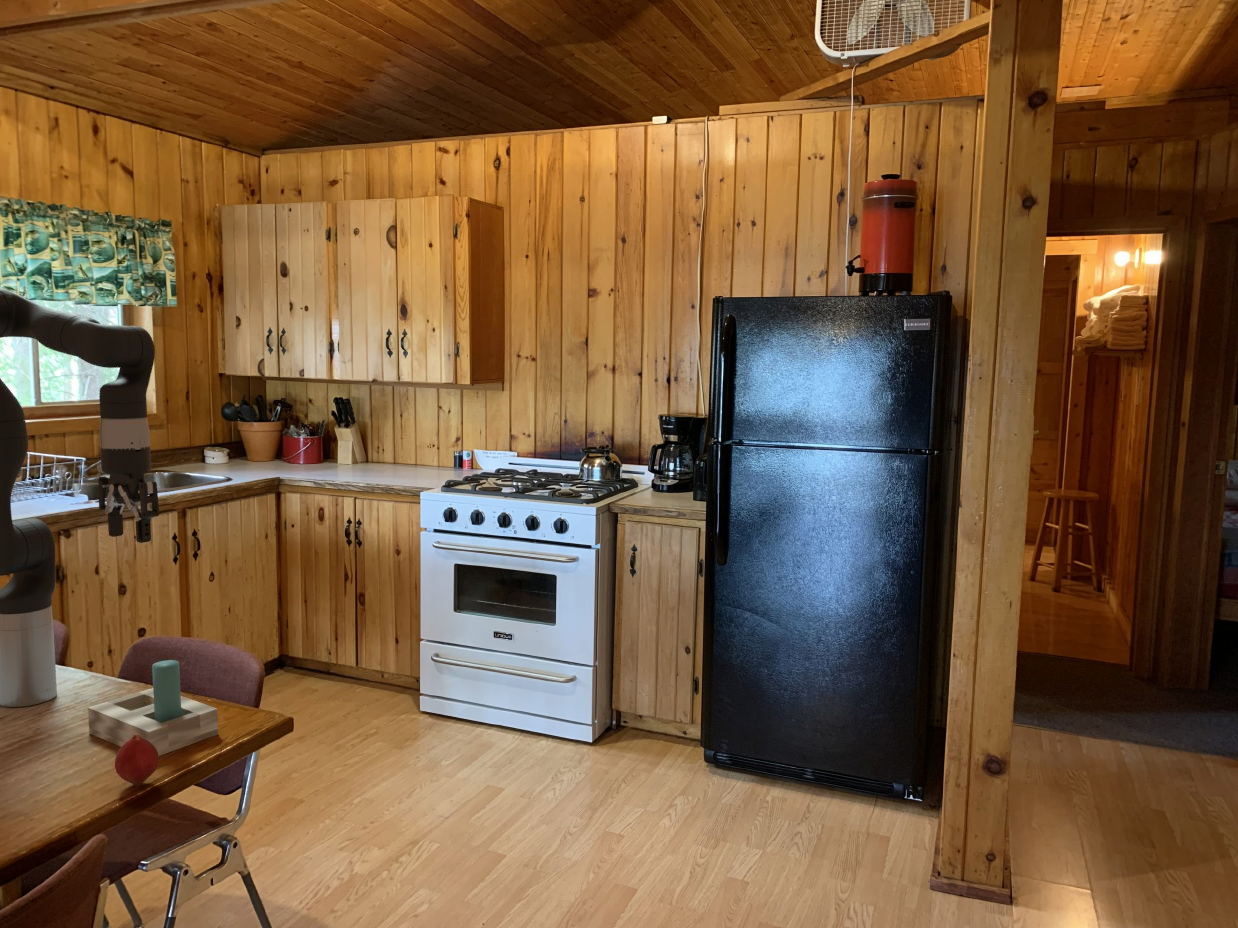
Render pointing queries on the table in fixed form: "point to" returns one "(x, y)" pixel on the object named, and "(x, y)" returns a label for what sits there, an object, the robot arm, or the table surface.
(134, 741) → the onion
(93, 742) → the table surface
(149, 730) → the hole board
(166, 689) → the pin
